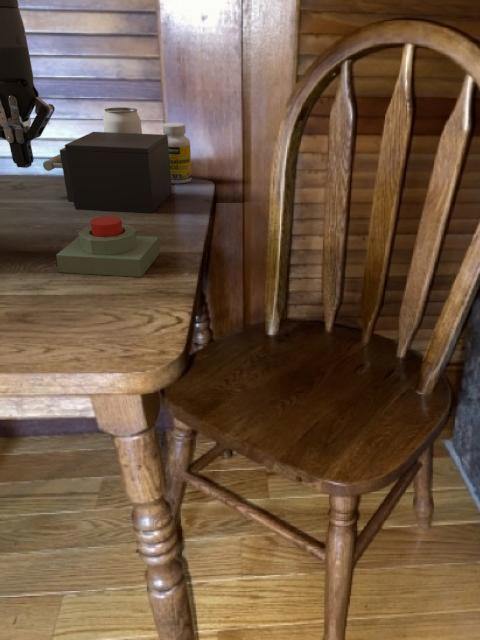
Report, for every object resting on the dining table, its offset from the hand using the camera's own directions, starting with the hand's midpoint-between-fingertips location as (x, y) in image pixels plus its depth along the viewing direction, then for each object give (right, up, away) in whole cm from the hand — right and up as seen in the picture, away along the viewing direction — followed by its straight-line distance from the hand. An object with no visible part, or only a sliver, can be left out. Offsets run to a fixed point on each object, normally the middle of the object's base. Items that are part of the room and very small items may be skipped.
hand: (24, 166), depth 92 cm
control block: (+21, -20, -22) cm, 36 cm away
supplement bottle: (+22, +2, +14) cm, 27 cm away
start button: (+21, -17, -24) cm, 36 cm away
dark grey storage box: (+16, -5, +2) cm, 17 cm away
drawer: (+12, -4, +1) cm, 13 cm away
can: (+13, +2, +14) cm, 19 cm away
